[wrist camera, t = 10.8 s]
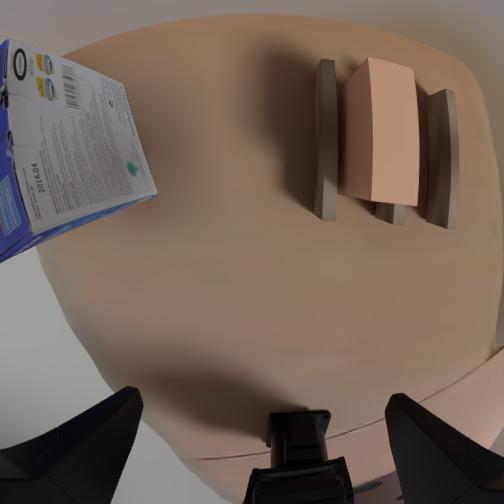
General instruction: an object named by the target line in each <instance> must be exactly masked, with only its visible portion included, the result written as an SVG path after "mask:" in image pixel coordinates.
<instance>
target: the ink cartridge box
mask: <svg viewBox="0 0 504 504" xmlns="http://www.w3.org/2000/svg"><path fill="white" fill-rule="evenodd" d="M156 195H157V189H156V186H155V184H154V181H153V178H152V175H151V172H150V169H149V167H148V164H147V161H146V158H145V155H144V152H143V149H142V146H141V142H140V139H139V136H138V133H137V130H136V127H135V123H134V120H133V117H132V114H131V110H130V107H129V103H128V100H127V96H126V93H125V89H124V86H123V84H122V83H120V82H118V81H116V80H114V79H112V78H109V77H107V76H105V75H103V74H101V73H99V72H96V71H94V70H92V69H90V68H87V67H85V66H83V65H80V64H78V63H76V62H73V61H71V60H68V59H66V58H63V57H61V56H58V55H55V54H53V53H50V52H47V51H44V50H41V49H39V48H36V47H33V46H30V45H27V44H24V43H21V42H17V41H14V40H11V39H7V40H6V41H4V42H3V43H2V44H1V45H0V263H2V262H3V261H5V260H7V259H9V258H11V257H13V256H15V255H17V254H19V253H21V252H24V251H26V250H28V249H30V248H32V247H34V246H36V245H38V244H40V243H43V242H45V241H47V240H49V239H52V238H54V237H56V236H58V235H61V234H63V233H65V232H68V231H70V230H72V229H75V228H77V227H79V226H82V225H84V224H86V223H89V222H91V221H94V220H97V219H99V218H102V217H106V216H110V215H113V214H116V213H118V212H121V211H123V210H125V209H127V208H130V207H132V206H134V205H137V204H139V203H141V202H144V201H146V200H148V199H150V198H152V197H155V196H156Z"/></svg>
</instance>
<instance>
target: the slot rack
mask: <svg viewBox="0 0 504 504" xmlns="http://www.w3.org/2000/svg"><path fill="white" fill-rule="evenodd" d="M314 80H315V189H314V215H315V216H317V217H318V218H319V219H321V220H322V221H336V203H337V177H338V116H337V91H336V74H335V61H334V60H328V59H321V61H320V63H319V65H318V67H317V70H316V72H315V74H314ZM426 108H427V120H428V137H429V184H428V202H427V215H426V222H428V223H431V224H434V225H437V226H440V227H443V228H446V229H453V230H455V226H456V217H457V206H458V190H459V140H458V125H457V114H456V105H455V97H454V92H453V91H450V90H448V89H444V90H442V91H439V92H437V93H435V94H432V95H430V96H428V97H426ZM404 216H405V205H404V204H395V203H386V202H377V201H376V214H375V218H378V219H380V220H383V221H385V222H388V223H390V224H393V225H404Z"/></svg>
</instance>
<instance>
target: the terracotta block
mask: <svg viewBox="0 0 504 504" xmlns="http://www.w3.org/2000/svg"><path fill="white" fill-rule="evenodd" d="M337 116H338V177H337V194H341V195H346V196H351V197H356V198H360V199H365V200H369V201H377V202H386V203H395V204H404V205H412V206H417V202H418V186H419V123H418V108H417V96H416V87H415V79H414V72H413V69H411V68H408V67H405V66H401V65H398V64H394V63H391V62H387V61H383V60H379V59H375V58H371V57H367V59H366V60H365V61H364V62H363V63H362V64H361V65H360V67H359V68H358V69H357V70H356V71H355V73H354V74H353V75H352V76H351V77H350V78H349V80H348V81H347V82H346V83H345V84H344V86H343V87H342V88H341V89H340V90H339V92H338V93H337Z"/></svg>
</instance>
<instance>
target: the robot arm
mask: <svg viewBox="0 0 504 504" xmlns="http://www.w3.org/2000/svg"><path fill="white" fill-rule="evenodd" d="M142 411H143V401H142V398H141V395H140V392H139V389H138V388H136V387H132V386H126V387H124V388H123V389H121V390H119V391H118V392H116V393H115V394H113V395H111V396H110V397H108V398H107V399H105V400H103V401H101V402H100V403H98V404H96V405H95V406H93V407H91V408H89V409H88V410H86V411H84V412H83V413H81V414H79V415H77V416H75V417H74V418H72V419H70V420H68V421H67V422H65V423H63V424H61V425H59V426H58V427H56V428H54V429H52V430H50V431H48V432H46V433H44V434H42V435H40V436H38V437H36V438H33V439H31V440H28V441H26V442H23V443H20V444H17V445H15V446H12V447H9V448H5V449H0V504H110V503H111V500H112V498H113V495H114V492H115V490H116V487H117V485H118V482H119V479H120V477H121V474H122V471H123V469H124V466H125V464H126V461H127V459H128V456H129V454H130V451H131V449H132V446H133V443H134V440H135V437H136V433H137V430H138V425H139V422H140V418H141V415H142ZM330 418H331V413H330V412H328V411H326V412H308V413H271V414H269V418H268V429H267V440H266V446H267V447H269V448H271V468H267V469H259V468H253V470H252V475H250V478H249V483H248V487H247V492H246V496H245V498H244V501H243V503H242V504H354V494H353V488H352V483H351V480H350V476H349V472H348V469H347V465H346V462H345V459H344V456H343V457H338V458H337V459H332V460H328V455H327V449H326V443H325V437H324V436H325V433H326V430H327V427H328V424H329V421H330ZM385 418H386V424H387V430H388V436H389V442H390V447H391V451H392V455H393V459H394V462H395V466H396V470H397V474H398V478H399V482H400V486H401V490H402V494H403V499H404V502H405V504H504V457H502V456H500V455H498V454H496V453H494V452H492V451H490V450H488V449H486V448H484V447H482V446H481V445H479V444H478V443H476V442H474V441H473V440H471V439H470V438H468V437H467V438H466V436H465V435H464V434H462V433H461V432H459V431H458V430H456V429H455V428H453V427H452V426H450V425H449V424H447V423H446V422H444V421H443V420H441V419H440V418H438V417H437V416H436V415H434V414H433V413H431V412H430V411H428V410H427V409H425V408H424V407H423V406H421V405H420V404H418V403H417V402H415V401H414V400H412V399H411V398H410V397H408V396H407V395H405V394H404V393H397V394H393V395H392V396H391V397H390V400H389V402H388V404H387V406H386V409H385Z"/></svg>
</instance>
